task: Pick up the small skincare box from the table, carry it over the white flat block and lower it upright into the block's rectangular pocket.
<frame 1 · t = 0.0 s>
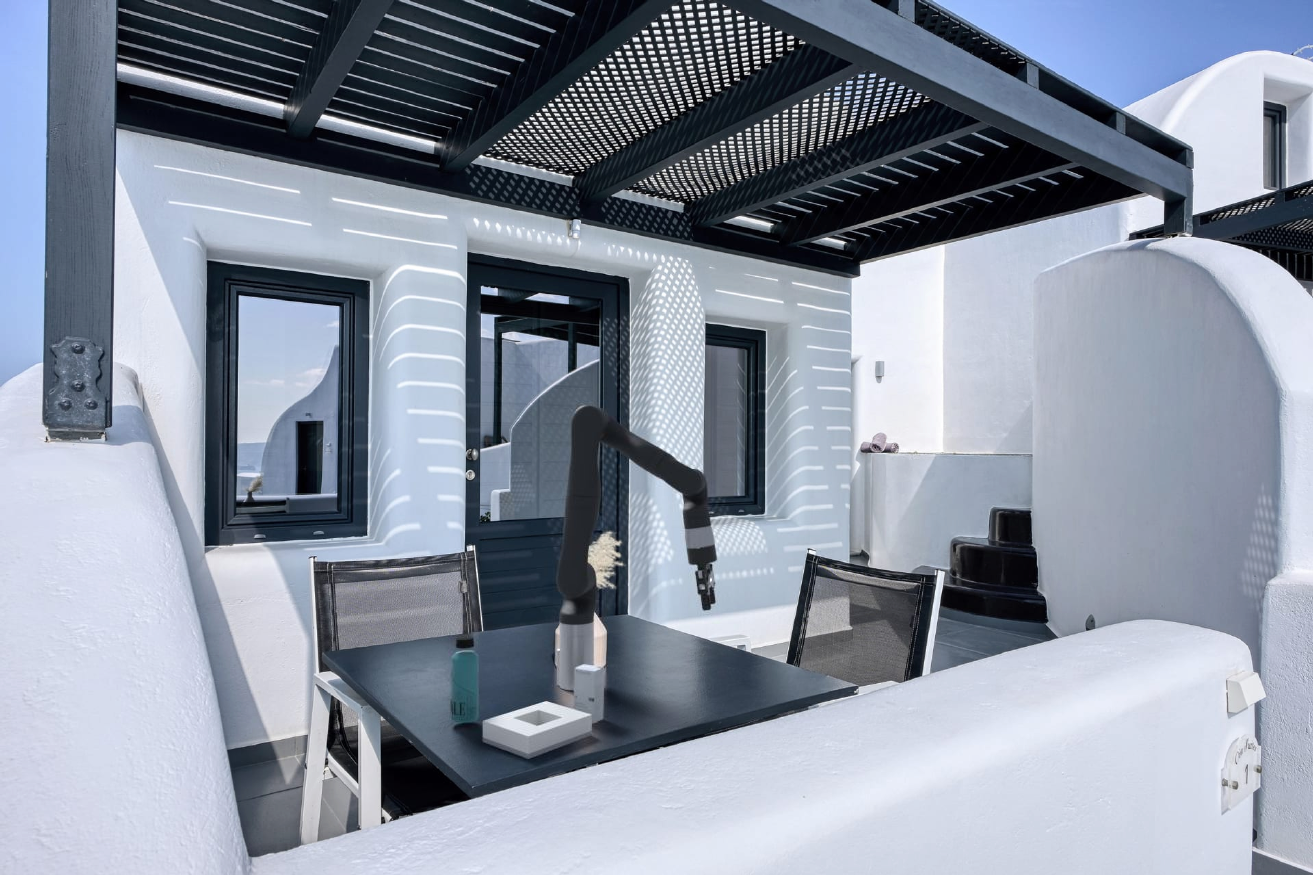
hand: (709, 607, 204), 22 cm above the table, tool pointing down, fingers open, 8 cm apart
skincare box: (588, 720, 184), on the table
white flat block: (537, 738, 171), on the table
beverage bottle: (464, 726, 180), on the table
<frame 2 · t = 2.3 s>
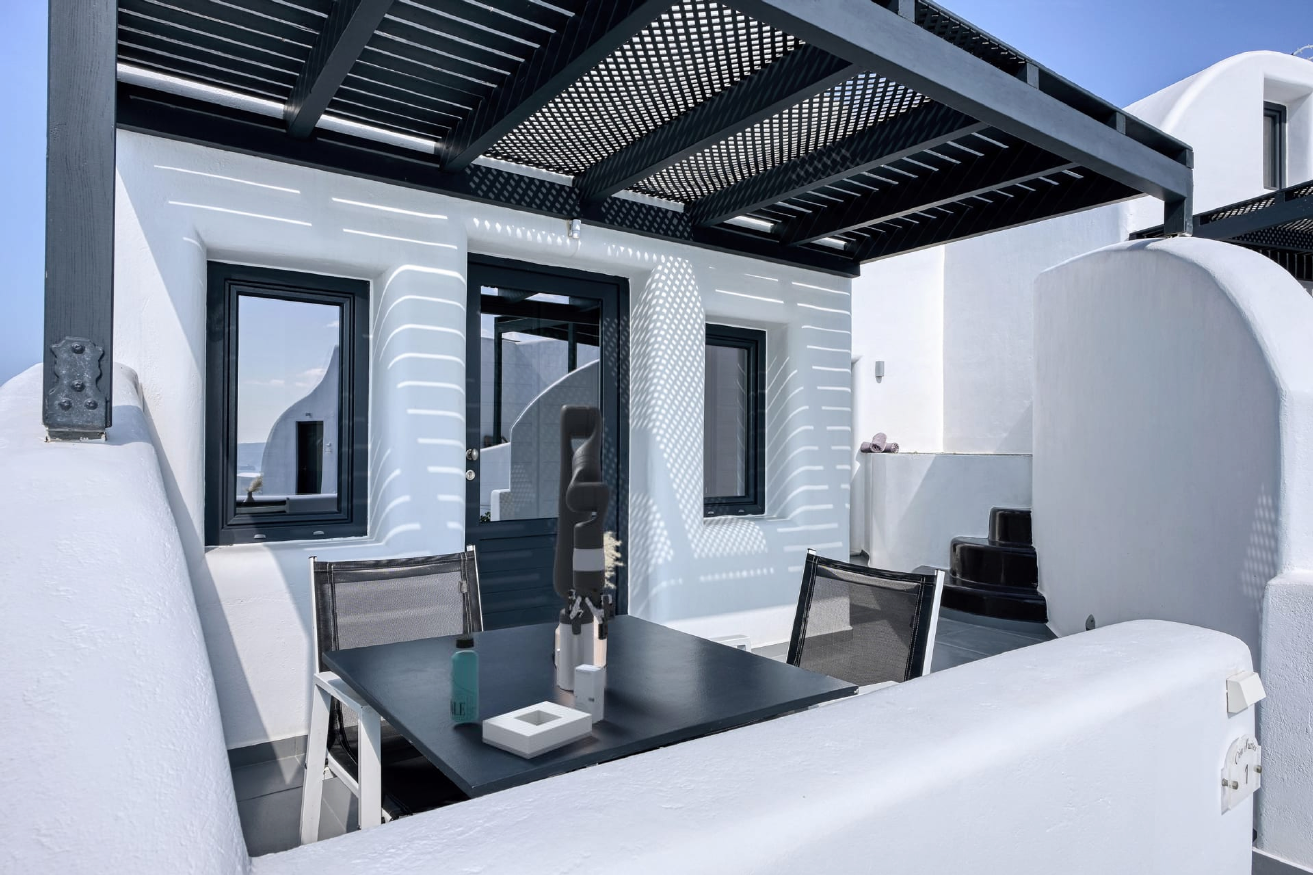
hand: (589, 637, 184), 19 cm above the table, tool pointing down, fingers open, 8 cm apart
nothing on the table moved.
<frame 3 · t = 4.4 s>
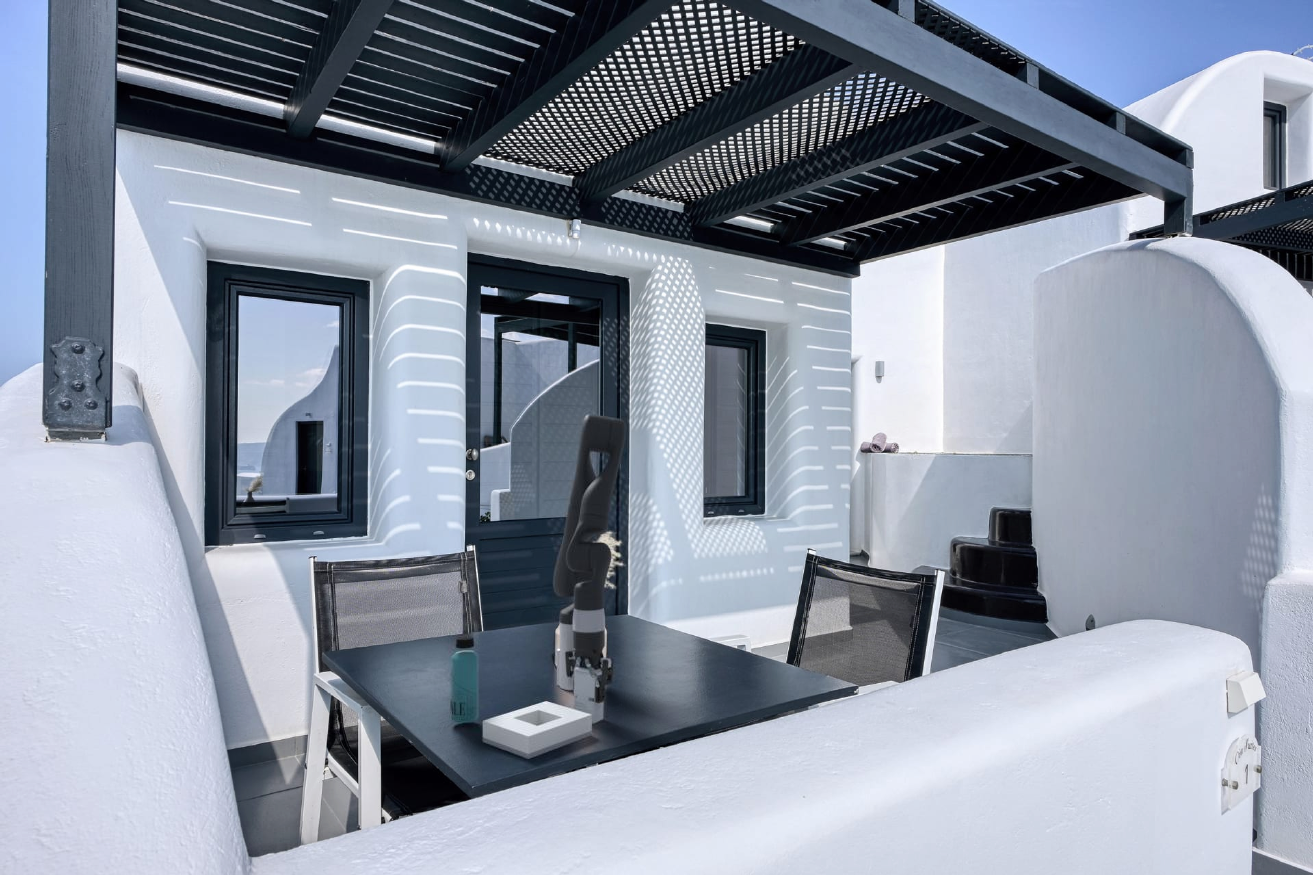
hand: (588, 699, 184), 5 cm above the table, tool pointing down, fingers closed on skincare box, 6 cm apart
skincare box: (588, 720, 184), on the table, touching gripper
everything else where it was.
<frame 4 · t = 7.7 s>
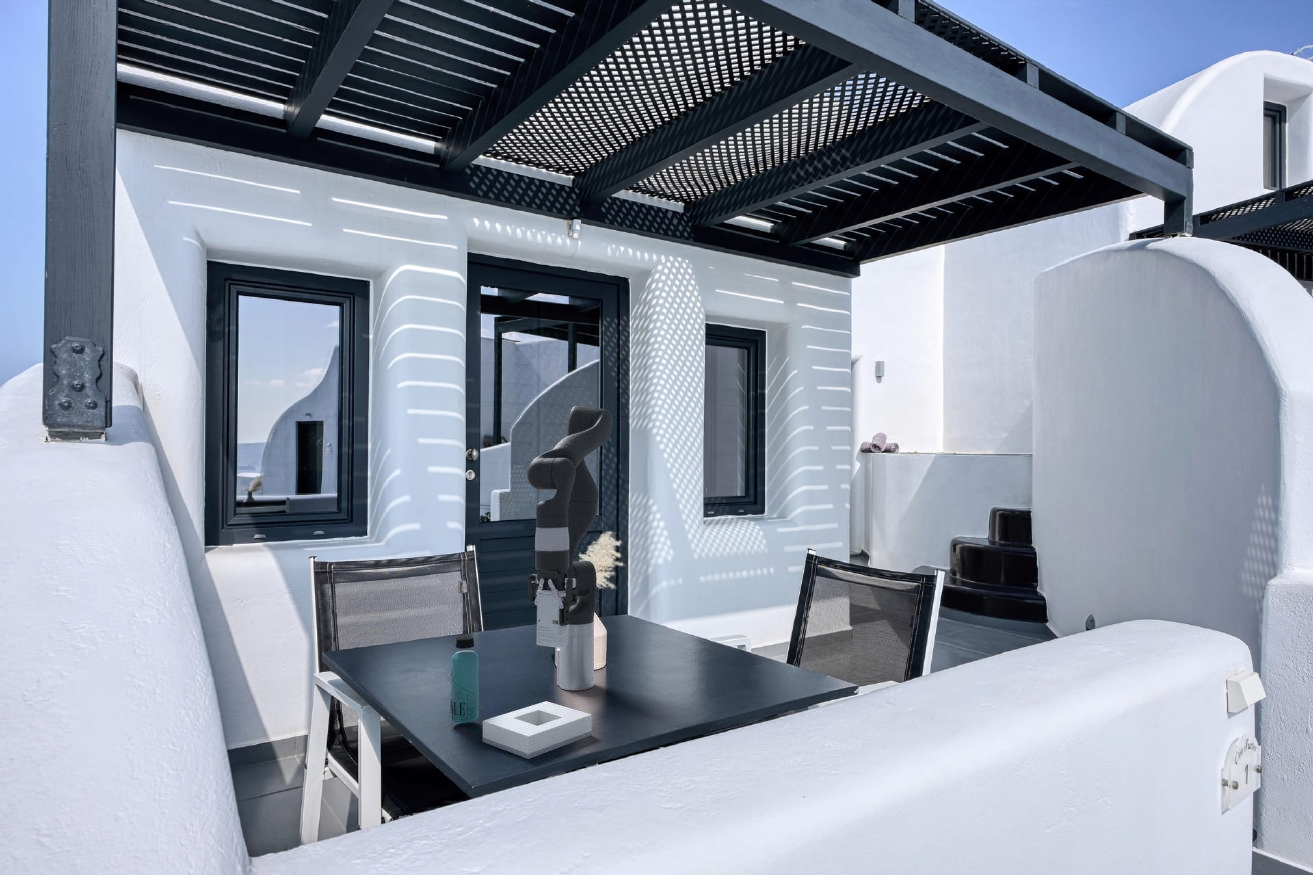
hand: (552, 623, 174), 24 cm above the table, tool pointing down, fingers closed on skincare box, 6 cm apart
skincare box: (553, 645, 174), point 20 cm above the table, touching gripper
everything else where it was.
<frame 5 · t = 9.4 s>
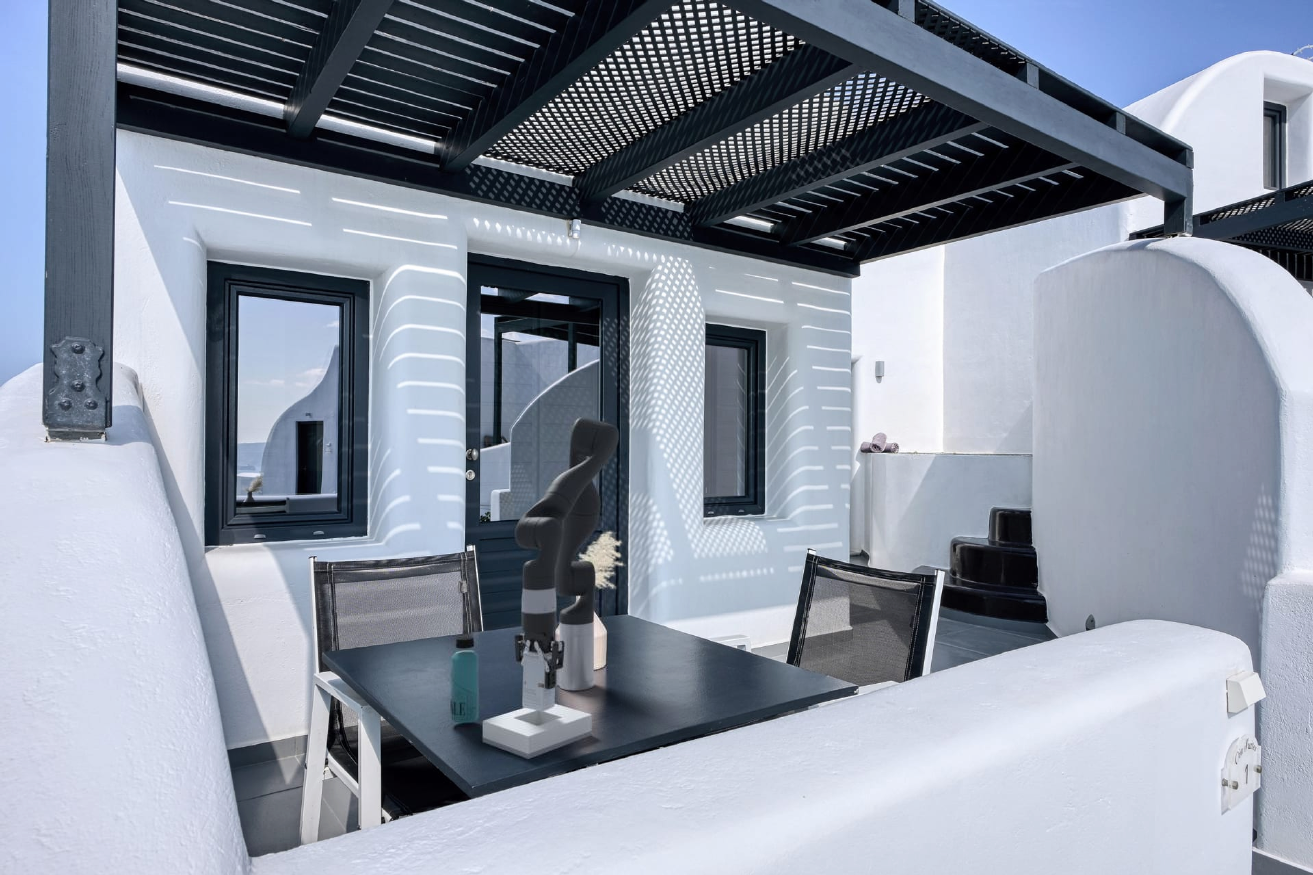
hand: (539, 685, 172), 11 cm above the table, tool pointing down, fingers closed on skincare box, 6 cm apart
skincare box: (539, 708, 171), point 7 cm above the table, touching gripper
everything else where it was.
when the fingers open (6 cm above the table, at t = 11.1 s): skincare box stays where it is, resting on white flat block.
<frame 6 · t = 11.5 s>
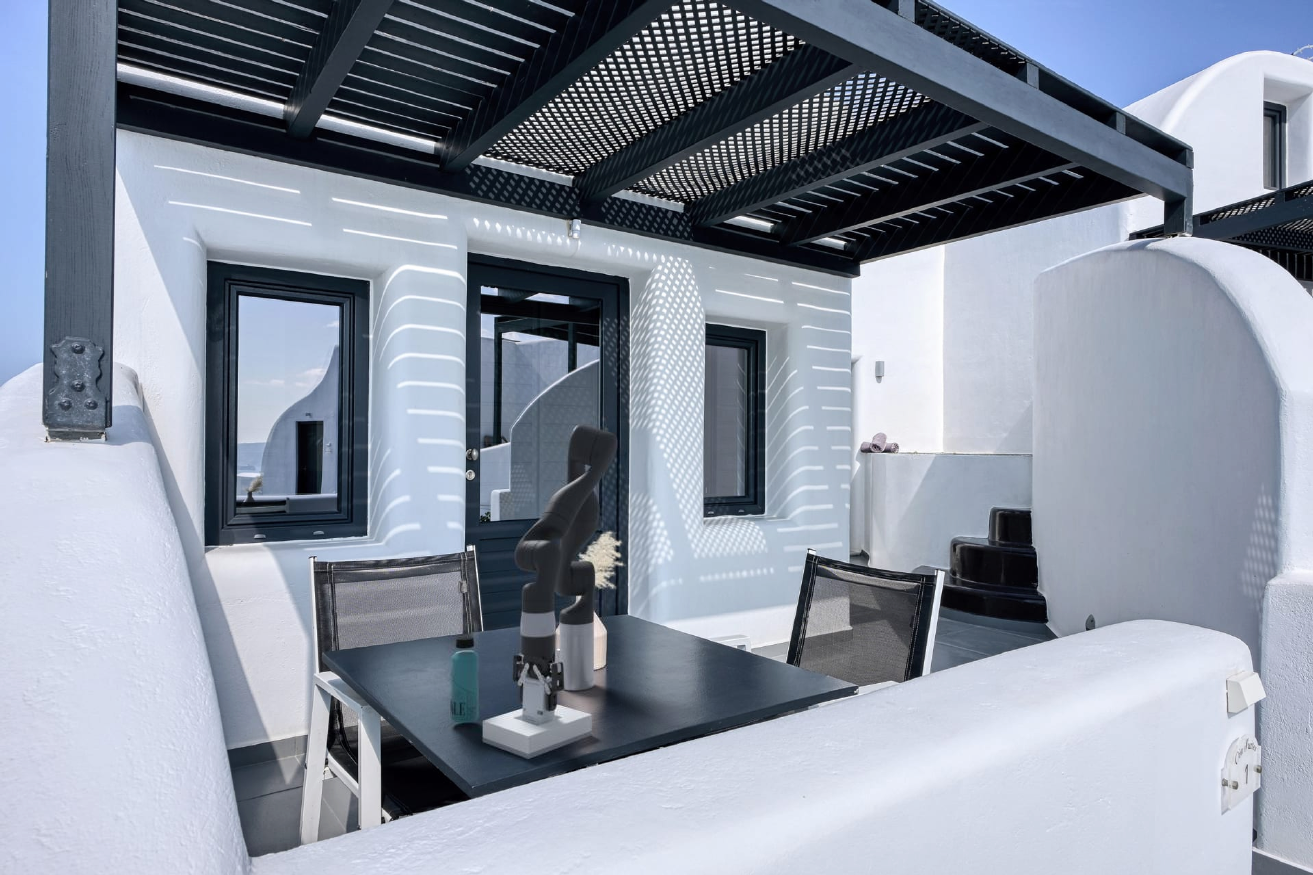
hand: (537, 706, 171), 7 cm above the table, tool pointing down, fingers open, 8 cm apart
skincare box: (538, 735, 171), point 1 cm above the table, touching white flat block
everything else where it was.
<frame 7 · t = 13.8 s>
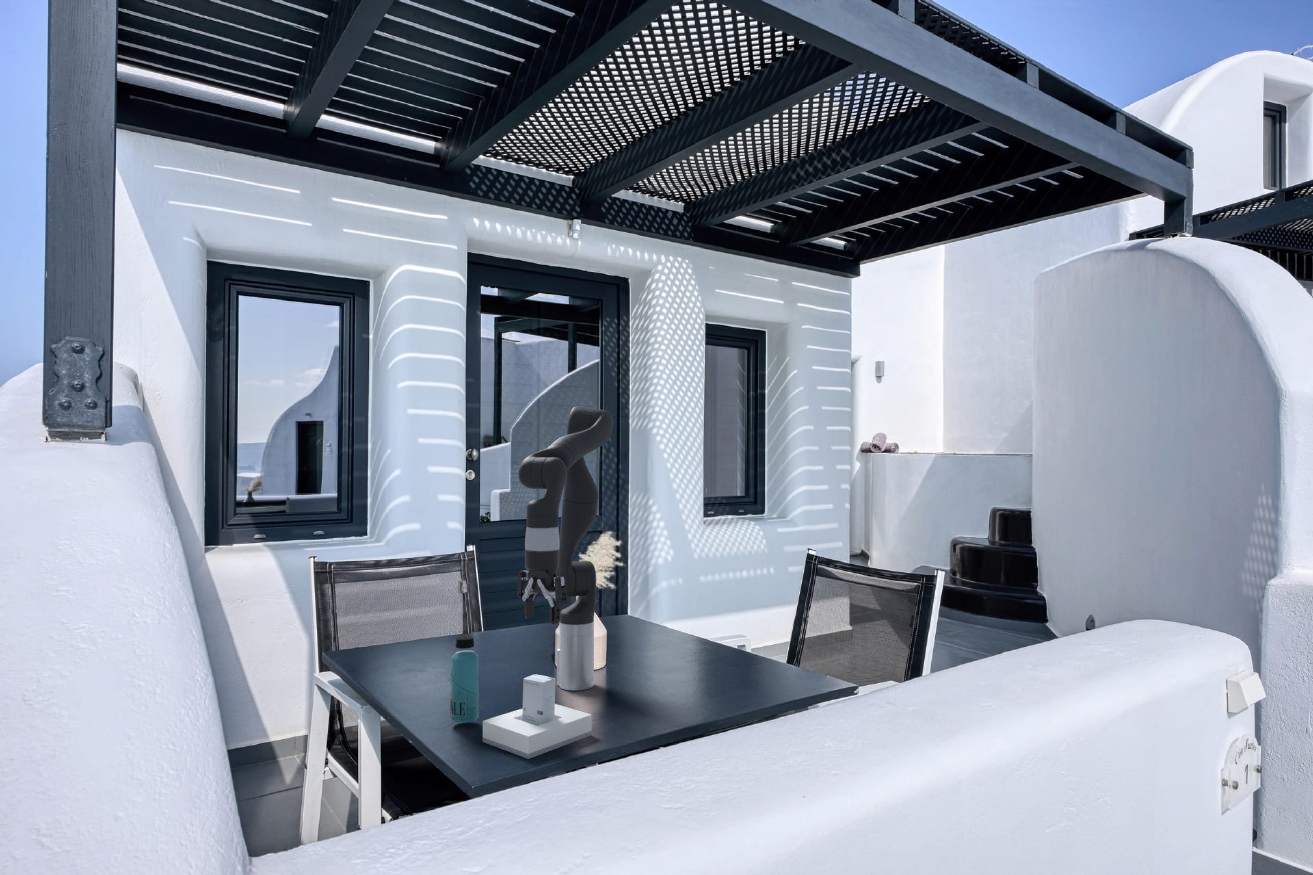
hand: (541, 620, 174), 25 cm above the table, tool pointing down, fingers open, 8 cm apart
nothing on the table moved.
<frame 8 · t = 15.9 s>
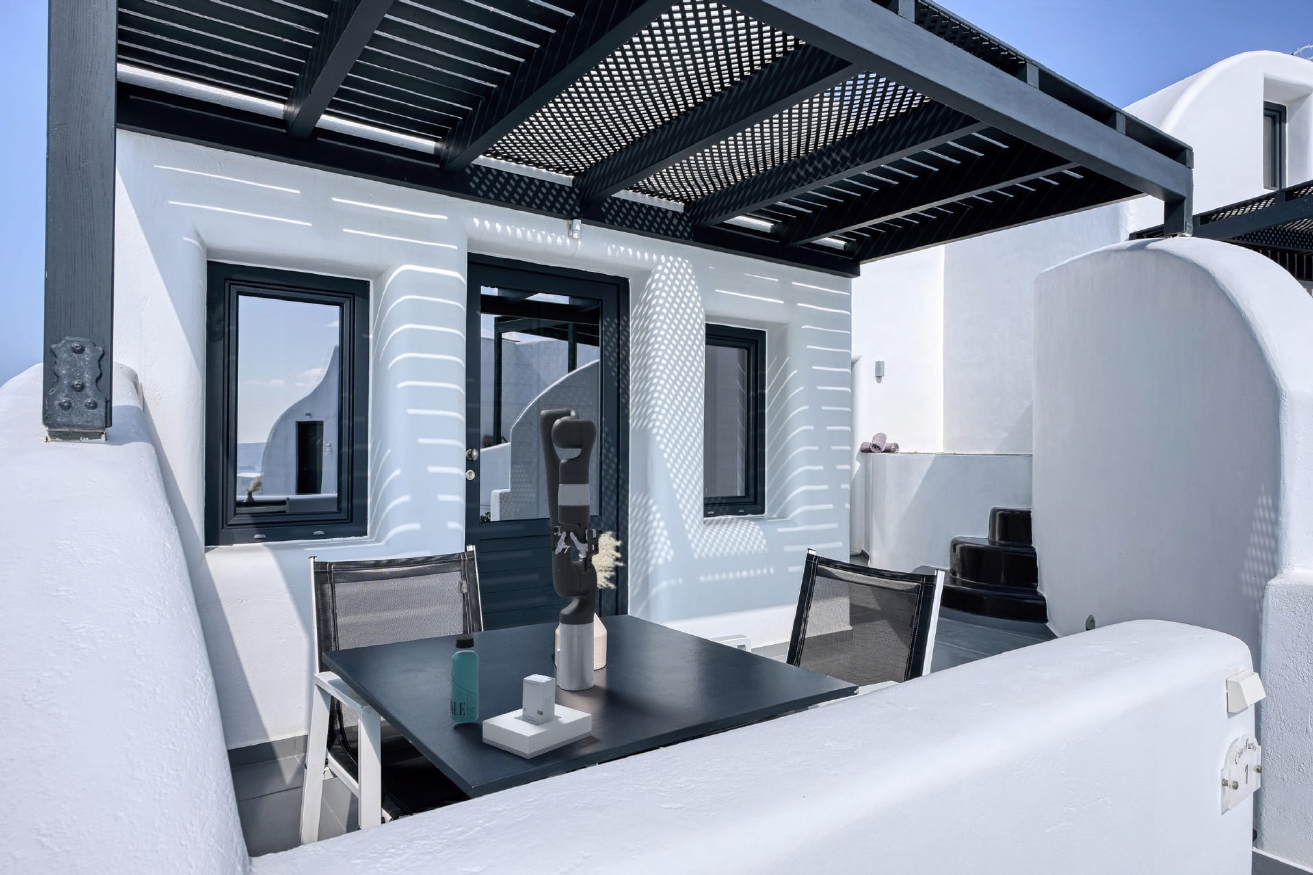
hand: (574, 571, 186), 34 cm above the table, tool pointing down, fingers open, 8 cm apart
nothing on the table moved.
at the end: skincare box 0.2 cm off-centre on the white flat block, point 0.8 cm above the white flat block's base; skincare box tilted 0°; the gripper is holding nothing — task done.
